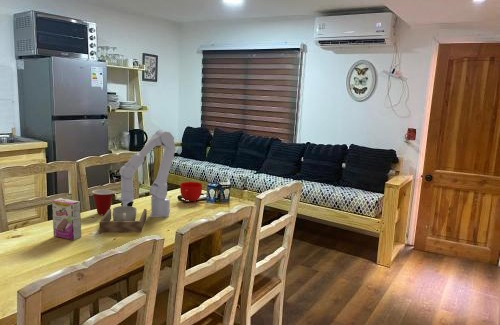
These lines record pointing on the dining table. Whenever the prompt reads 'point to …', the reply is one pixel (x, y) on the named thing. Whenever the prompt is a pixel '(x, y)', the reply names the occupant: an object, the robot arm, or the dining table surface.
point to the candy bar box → (66, 218)
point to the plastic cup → (102, 200)
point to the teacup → (124, 213)
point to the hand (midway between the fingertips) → (127, 216)
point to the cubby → (121, 224)
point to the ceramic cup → (191, 190)
